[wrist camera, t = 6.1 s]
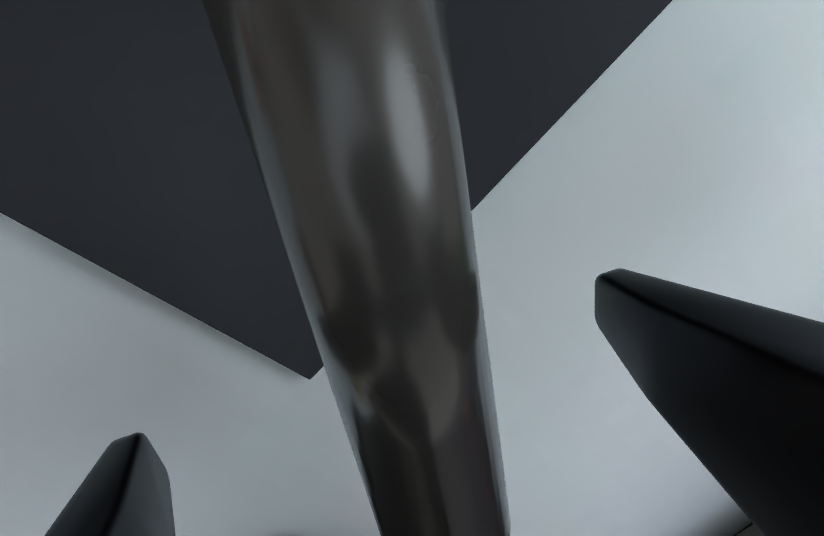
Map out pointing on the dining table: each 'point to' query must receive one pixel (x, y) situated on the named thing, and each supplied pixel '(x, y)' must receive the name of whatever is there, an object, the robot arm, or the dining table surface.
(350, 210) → the pot
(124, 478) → the robot arm
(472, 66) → the placemat
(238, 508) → the dining table surface
